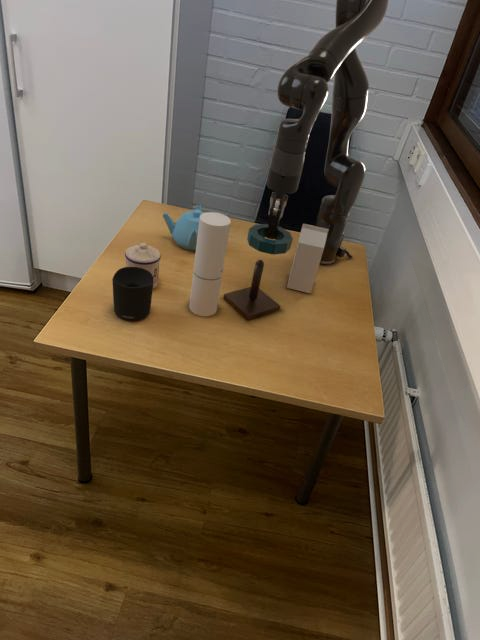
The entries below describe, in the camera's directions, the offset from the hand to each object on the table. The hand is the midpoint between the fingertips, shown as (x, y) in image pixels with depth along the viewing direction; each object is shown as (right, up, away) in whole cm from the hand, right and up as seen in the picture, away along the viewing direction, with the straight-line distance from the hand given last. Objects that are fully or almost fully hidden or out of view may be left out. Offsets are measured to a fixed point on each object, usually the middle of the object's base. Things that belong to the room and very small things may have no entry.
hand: (271, 235), depth 118 cm
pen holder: (-34, -19, -3) cm, 40 cm away
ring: (-1, -3, -3) cm, 4 cm away
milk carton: (+10, -11, +20) cm, 25 cm away
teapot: (-23, +4, +32) cm, 39 cm away
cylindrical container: (-17, -18, +3) cm, 26 cm away
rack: (-5, -17, +8) cm, 19 cm away
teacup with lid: (-34, -10, +9) cm, 37 cm away
